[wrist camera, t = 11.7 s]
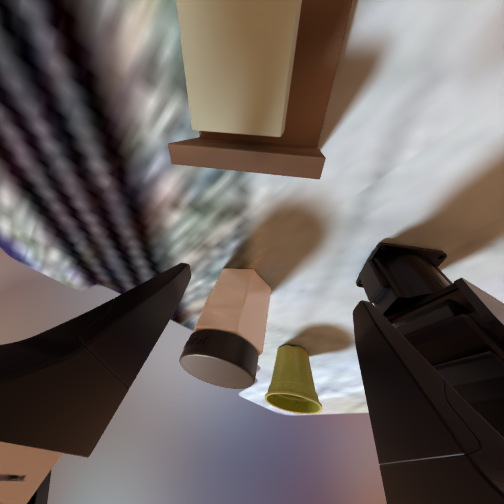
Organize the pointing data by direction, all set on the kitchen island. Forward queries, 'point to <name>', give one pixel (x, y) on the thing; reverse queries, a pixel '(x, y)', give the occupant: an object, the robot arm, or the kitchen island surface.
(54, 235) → the kitchen island surface
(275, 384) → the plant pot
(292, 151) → the shelf frame
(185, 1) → the beige rectangular block
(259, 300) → the jar
